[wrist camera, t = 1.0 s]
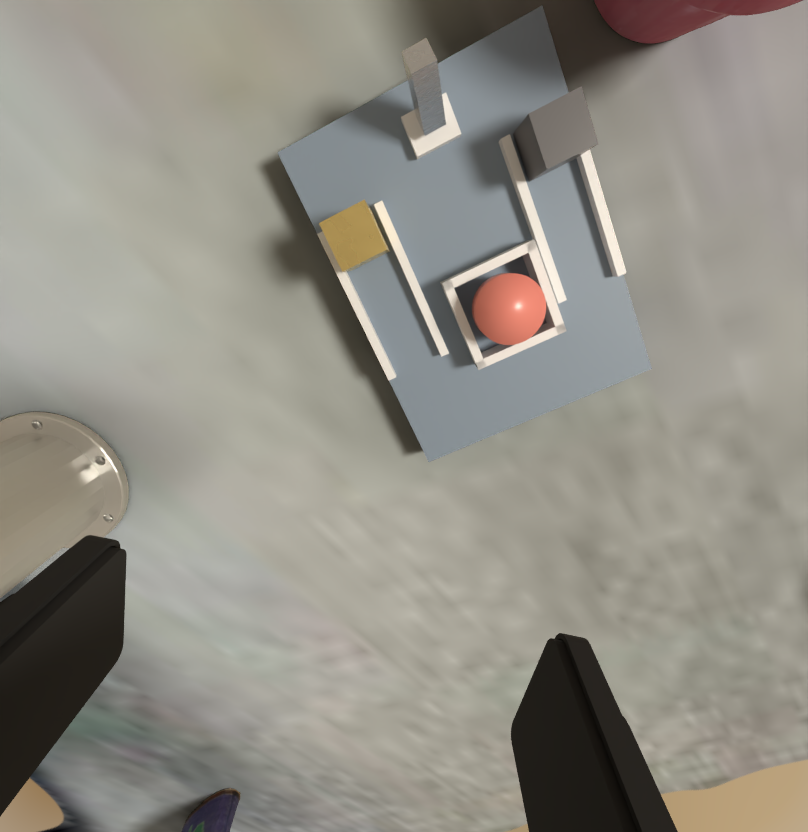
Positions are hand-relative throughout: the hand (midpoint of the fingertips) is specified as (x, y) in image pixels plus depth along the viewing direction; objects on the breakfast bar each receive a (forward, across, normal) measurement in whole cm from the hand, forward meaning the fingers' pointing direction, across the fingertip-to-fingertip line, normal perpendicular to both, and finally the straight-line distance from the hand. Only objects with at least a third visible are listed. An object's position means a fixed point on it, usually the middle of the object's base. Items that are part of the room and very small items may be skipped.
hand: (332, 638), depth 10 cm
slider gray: (+25, -6, -17) cm, 31 cm away
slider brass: (+25, +4, -9) cm, 27 cm away
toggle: (+24, +1, -16) cm, 29 cm away
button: (+24, -6, -7) cm, 25 cm away
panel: (+28, -4, -8) cm, 29 cm away
